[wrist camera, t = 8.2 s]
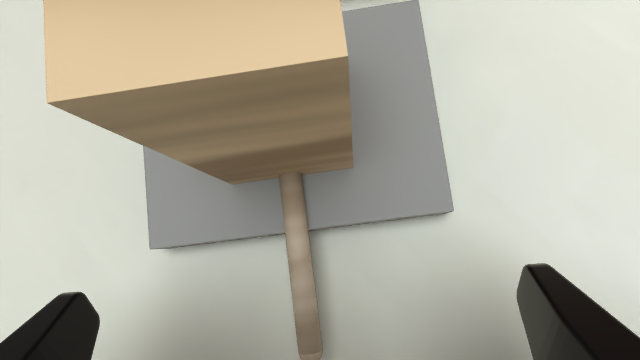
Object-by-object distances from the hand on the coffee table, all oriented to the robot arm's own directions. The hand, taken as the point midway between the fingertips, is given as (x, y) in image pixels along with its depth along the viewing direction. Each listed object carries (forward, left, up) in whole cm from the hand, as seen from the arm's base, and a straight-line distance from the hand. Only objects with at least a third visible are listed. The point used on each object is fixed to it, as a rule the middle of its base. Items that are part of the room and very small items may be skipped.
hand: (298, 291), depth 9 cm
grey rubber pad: (+5, +1, -8) cm, 10 cm away
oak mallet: (+2, +1, -6) cm, 7 cm away
